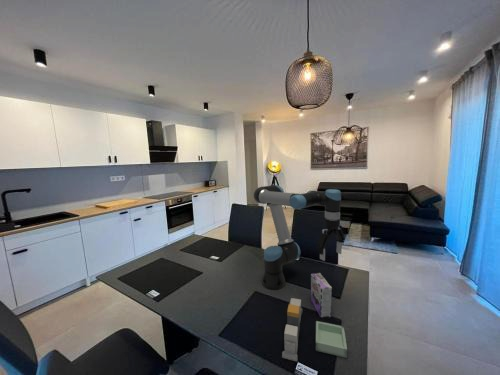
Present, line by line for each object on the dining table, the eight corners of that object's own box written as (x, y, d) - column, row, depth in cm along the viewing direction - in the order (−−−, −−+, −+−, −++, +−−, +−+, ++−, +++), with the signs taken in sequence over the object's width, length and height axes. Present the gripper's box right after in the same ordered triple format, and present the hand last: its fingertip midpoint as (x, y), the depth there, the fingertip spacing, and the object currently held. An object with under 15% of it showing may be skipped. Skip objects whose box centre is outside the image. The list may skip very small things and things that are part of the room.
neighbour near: (284, 352, 88) (284, 333, 87) (286, 342, 93) (286, 324, 91) (296, 355, 86) (296, 336, 85) (297, 345, 91) (297, 326, 90)
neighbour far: (290, 320, 105) (289, 304, 104) (291, 313, 109) (291, 297, 108) (300, 322, 103) (300, 306, 102) (301, 315, 108) (301, 299, 107)
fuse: (287, 335, 96) (287, 311, 95) (288, 326, 101) (288, 304, 99) (298, 337, 95) (298, 313, 93) (299, 329, 99) (299, 306, 98)
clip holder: (282, 357, 85) (282, 344, 85) (290, 309, 112) (290, 299, 111) (297, 361, 84) (297, 348, 83) (302, 312, 110) (302, 301, 109)
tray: (315, 350, 88) (315, 342, 88) (316, 328, 99) (316, 320, 99) (346, 358, 84) (347, 349, 84) (343, 334, 96) (343, 326, 95)
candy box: (310, 299, 120) (310, 273, 117) (320, 299, 120) (320, 272, 118) (320, 318, 106) (320, 288, 104) (331, 317, 106) (332, 287, 104)
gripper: (321, 224, 101) (320, 265, 104) (353, 216, 114) (351, 253, 117) (310, 221, 108) (309, 259, 111) (340, 213, 120) (339, 248, 123)
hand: (330, 256), depth 114 cm, fingers open, 13 cm apart
